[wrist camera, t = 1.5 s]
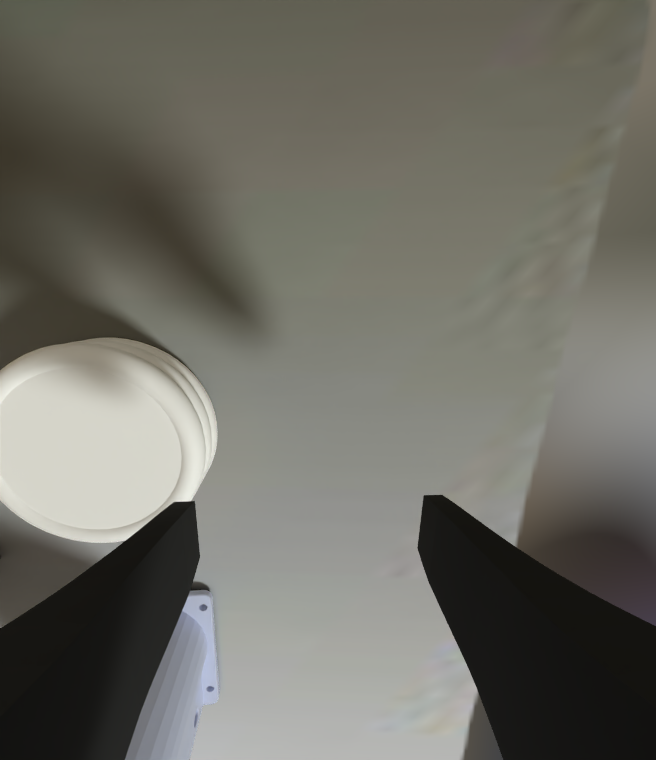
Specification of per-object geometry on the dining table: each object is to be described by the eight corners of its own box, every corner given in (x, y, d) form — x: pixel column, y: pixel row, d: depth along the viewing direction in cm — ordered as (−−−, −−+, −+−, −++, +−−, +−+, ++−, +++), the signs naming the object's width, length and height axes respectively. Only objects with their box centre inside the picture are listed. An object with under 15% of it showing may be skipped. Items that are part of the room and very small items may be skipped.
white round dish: (230, 495, 19) (216, 537, 16) (58, 512, 18) (3, 560, 15) (206, 330, 16) (182, 337, 13) (6, 342, 16) (-75, 353, 12)
